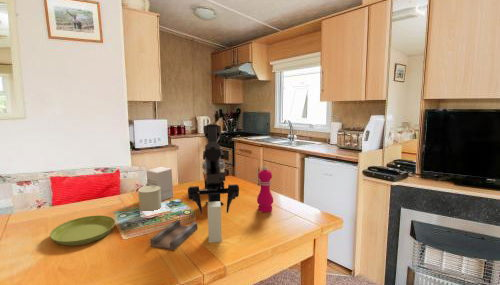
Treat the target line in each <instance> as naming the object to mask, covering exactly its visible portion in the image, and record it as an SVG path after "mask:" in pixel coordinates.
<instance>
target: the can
mask: <svg viewBox="0 0 500 285" xmlns="http://www.w3.org/2000/svg"><path fill="white" fill-rule="evenodd" d="M160 189H161V188H160V187H159V186H148V185H147V186H142V187H140V188H138V190H137V194H138V202H139V205H138V206H139V212H140V211H154V210H158V209H160V208H161V207H162V201H161V190H160Z"/></svg>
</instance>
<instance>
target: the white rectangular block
mask: <svg viewBox="0 0 500 285" xmlns="http://www.w3.org/2000/svg"><path fill="white" fill-rule="evenodd" d="M220 201H221V200H220ZM220 201H215V202H208V201H207V202H208V205H207V226H208V229H207V230H208V231H207V232H208V233H207V234H208V235H207V236H208V244H211V243H221V242H223V238H222V209H221V208H222V207H221V206H222V205H221V202H222V201H221V202H220Z"/></svg>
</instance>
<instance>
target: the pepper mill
mask: <svg viewBox="0 0 500 285" xmlns="http://www.w3.org/2000/svg"><path fill="white" fill-rule="evenodd" d="M257 176H258V179H259V185H260V190H259V192H258V195H257V199H256V201H257V204H258V206H257V209H258V212H261V213H271V212H272V211H273V206H272V205H273V203H274V198H273V197H274V196H273V194H272V192H271V190H270V188H271V184H272V181H271V180H272V178H273V173H272V171H270V170H269V169H268V167H267V166H263V167H262V170H260V171H259V172H258V175H257Z"/></svg>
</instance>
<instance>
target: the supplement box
mask: <svg viewBox="0 0 500 285" xmlns="http://www.w3.org/2000/svg"><path fill="white" fill-rule="evenodd" d="M172 171H173V170H172V168H168V167H165V166H159V167H154V168H150V169H146V171H145V172H146V182H147V186H159V187H160V188H161V189H160V190H161V202H163V201H166V200H168V199H171V198H173V197H174V187H173V186H174V185H173V172H172Z"/></svg>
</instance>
